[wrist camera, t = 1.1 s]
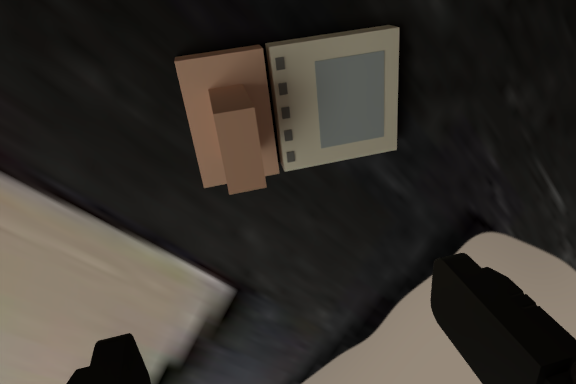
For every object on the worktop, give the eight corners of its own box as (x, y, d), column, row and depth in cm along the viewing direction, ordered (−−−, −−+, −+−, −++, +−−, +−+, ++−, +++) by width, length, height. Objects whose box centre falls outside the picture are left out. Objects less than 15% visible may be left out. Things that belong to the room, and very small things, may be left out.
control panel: (388, 24, 26) (400, 27, 25) (387, 142, 30) (397, 150, 28) (265, 43, 25) (269, 47, 23) (280, 162, 29) (285, 172, 27)
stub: (258, 44, 25) (280, 64, 19) (275, 164, 29) (297, 210, 23) (174, 56, 24) (171, 81, 18) (203, 178, 28) (207, 229, 22)
